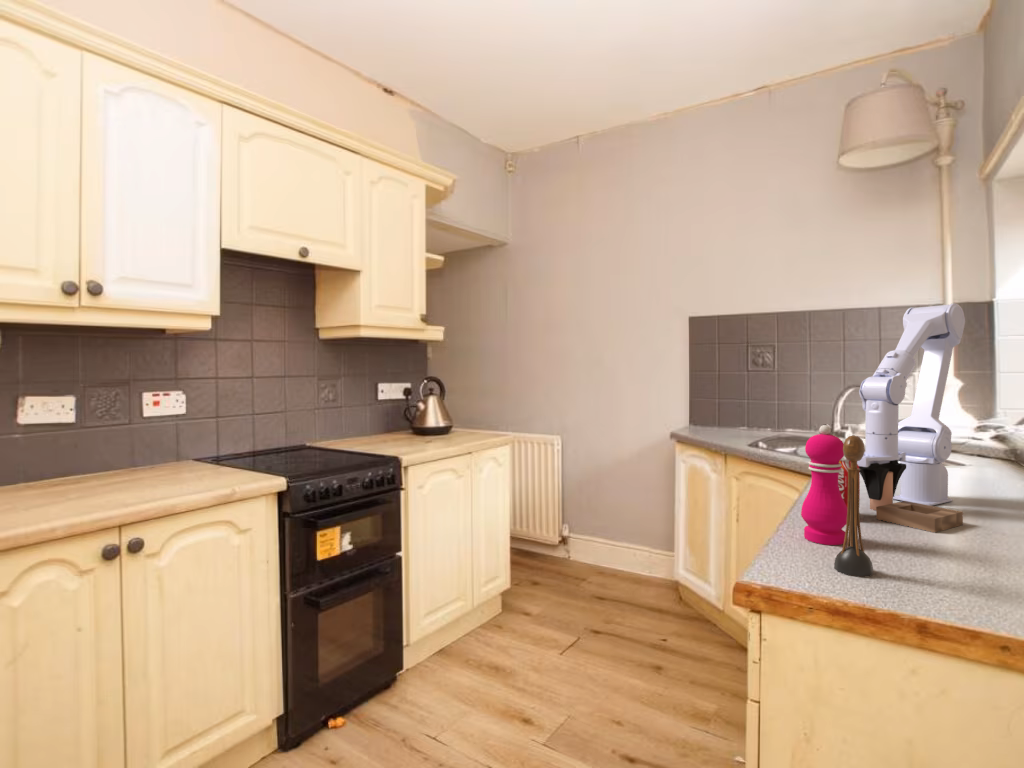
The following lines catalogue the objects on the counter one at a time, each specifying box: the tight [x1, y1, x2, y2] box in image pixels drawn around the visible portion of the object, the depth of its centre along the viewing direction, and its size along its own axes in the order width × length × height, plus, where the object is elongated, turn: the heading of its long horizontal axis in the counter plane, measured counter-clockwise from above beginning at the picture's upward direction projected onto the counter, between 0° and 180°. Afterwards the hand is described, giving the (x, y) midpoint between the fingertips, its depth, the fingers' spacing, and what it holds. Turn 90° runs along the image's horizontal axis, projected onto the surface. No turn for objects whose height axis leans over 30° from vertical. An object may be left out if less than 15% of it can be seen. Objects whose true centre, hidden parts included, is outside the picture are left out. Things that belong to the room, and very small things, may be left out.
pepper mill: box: [800, 424, 847, 546], centre depth 95 cm, size 7×7×20 cm
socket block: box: [875, 501, 964, 533], centre depth 105 cm, size 10×10×2 cm
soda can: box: [838, 456, 861, 508], centre depth 110 cm, size 7×7×12 cm
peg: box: [869, 471, 894, 511], centre depth 115 cm, size 4×4×8 cm
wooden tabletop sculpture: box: [833, 435, 874, 578], centre depth 81 cm, size 6×5×20 cm
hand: (881, 497), depth 115 cm, fingers closed on peg, 4 cm apart
